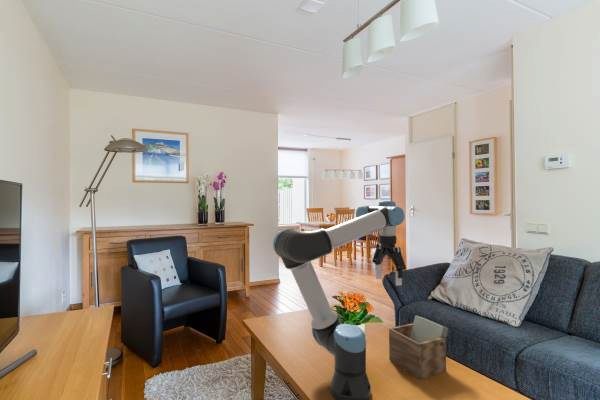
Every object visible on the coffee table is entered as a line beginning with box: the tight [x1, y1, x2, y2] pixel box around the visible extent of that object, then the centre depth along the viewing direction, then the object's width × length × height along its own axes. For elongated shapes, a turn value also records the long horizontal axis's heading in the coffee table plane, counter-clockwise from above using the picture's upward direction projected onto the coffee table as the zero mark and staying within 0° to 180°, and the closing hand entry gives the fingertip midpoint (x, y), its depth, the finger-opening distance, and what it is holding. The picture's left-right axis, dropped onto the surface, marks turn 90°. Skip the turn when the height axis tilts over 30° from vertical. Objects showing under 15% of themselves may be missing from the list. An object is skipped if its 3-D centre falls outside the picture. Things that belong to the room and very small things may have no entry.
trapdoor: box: [410, 315, 449, 343], centre depth 143 cm, size 17×15×5 cm
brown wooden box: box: [388, 322, 447, 381], centre depth 140 cm, size 15×19×14 cm
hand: (388, 281), depth 147 cm, fingers open, 13 cm apart
